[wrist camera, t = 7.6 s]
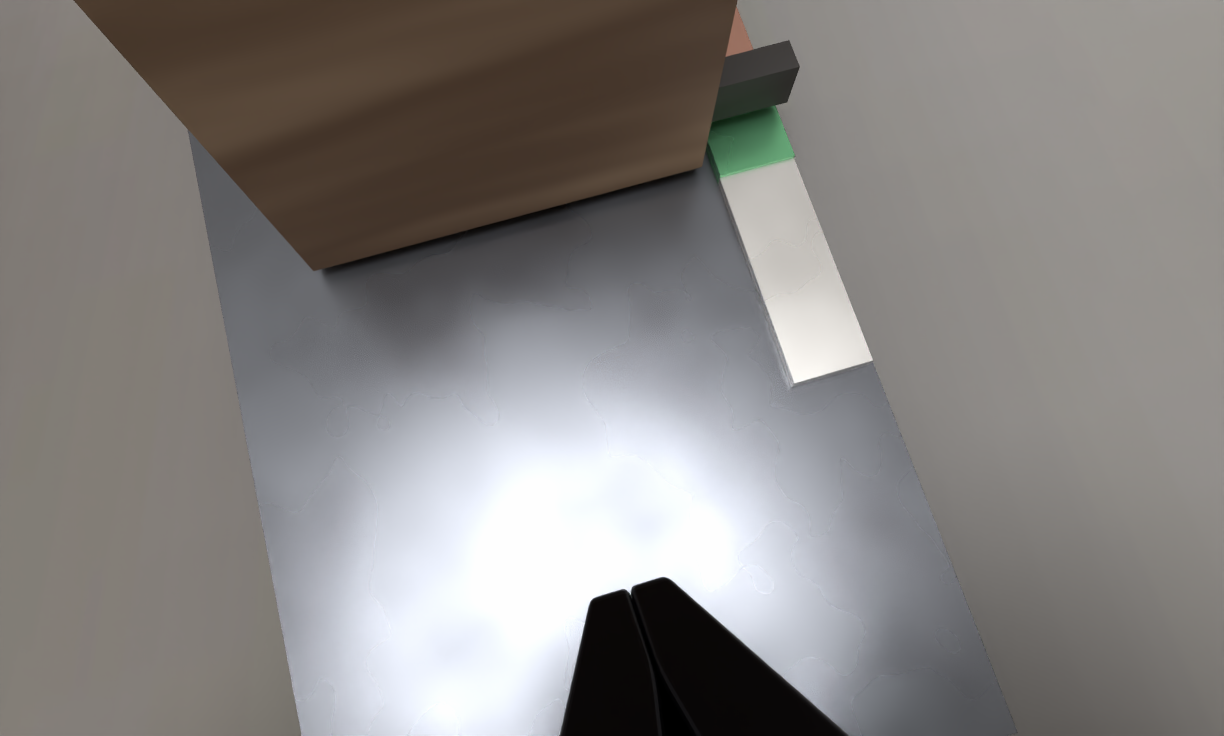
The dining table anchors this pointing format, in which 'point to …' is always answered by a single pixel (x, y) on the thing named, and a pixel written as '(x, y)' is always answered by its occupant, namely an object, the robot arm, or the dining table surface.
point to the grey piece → (587, 455)
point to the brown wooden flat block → (440, 103)
